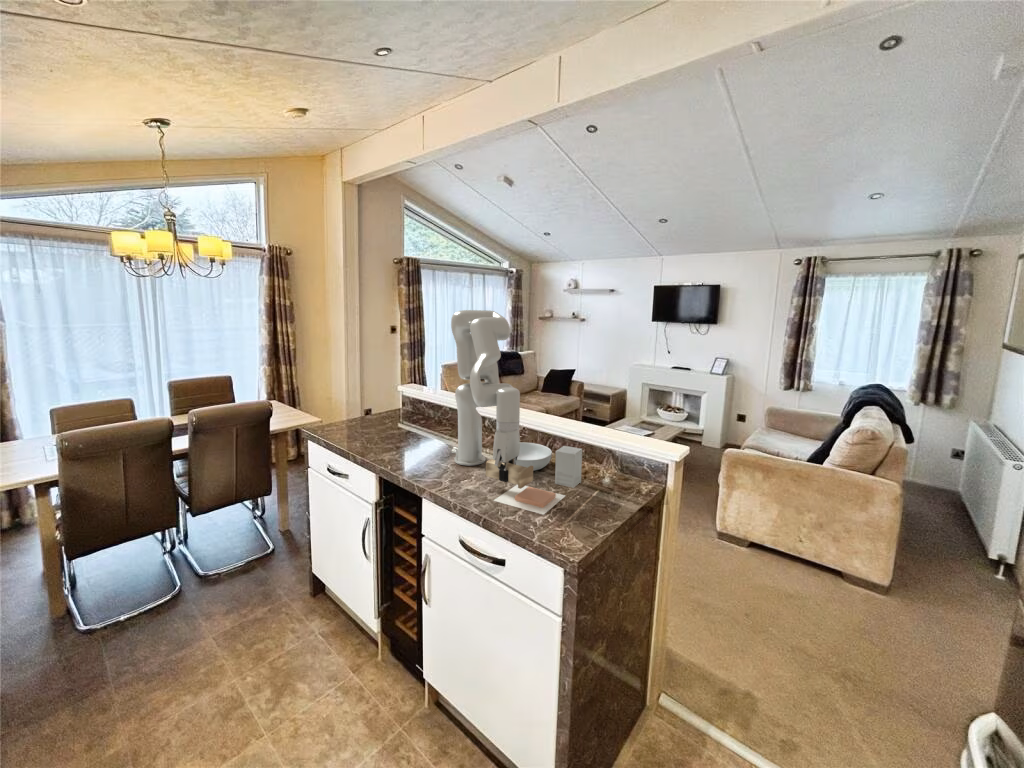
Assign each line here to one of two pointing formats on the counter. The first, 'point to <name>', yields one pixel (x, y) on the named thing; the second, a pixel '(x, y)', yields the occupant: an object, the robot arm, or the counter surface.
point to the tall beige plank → (511, 473)
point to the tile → (535, 497)
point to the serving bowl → (533, 455)
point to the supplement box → (568, 466)
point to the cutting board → (510, 500)
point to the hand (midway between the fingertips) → (507, 478)
